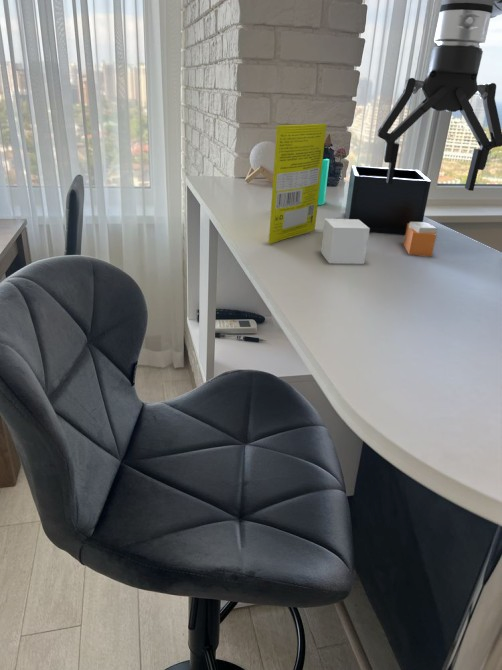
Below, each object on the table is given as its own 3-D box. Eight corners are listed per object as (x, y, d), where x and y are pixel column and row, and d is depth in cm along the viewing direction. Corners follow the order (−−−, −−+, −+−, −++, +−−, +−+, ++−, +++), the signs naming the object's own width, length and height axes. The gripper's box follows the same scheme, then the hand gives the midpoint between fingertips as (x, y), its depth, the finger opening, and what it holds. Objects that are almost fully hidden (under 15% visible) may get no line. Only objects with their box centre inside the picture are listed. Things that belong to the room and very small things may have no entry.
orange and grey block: (425, 245, 96) (430, 220, 94) (432, 256, 90) (438, 229, 87) (402, 243, 96) (407, 218, 94) (408, 254, 90) (413, 227, 88)
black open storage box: (409, 219, 115) (418, 170, 110) (420, 236, 102) (431, 181, 97) (344, 214, 117) (351, 165, 112) (347, 230, 104) (354, 175, 99)
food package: (312, 229, 103) (323, 123, 94) (317, 230, 102) (329, 124, 93) (266, 243, 92) (274, 125, 83) (271, 245, 91) (279, 125, 82)
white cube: (320, 252, 89) (324, 218, 86) (353, 253, 89) (358, 219, 87) (329, 263, 83) (333, 227, 81) (364, 263, 84) (369, 228, 81)
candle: (328, 204, 125) (334, 153, 120) (307, 205, 123) (312, 153, 118) (317, 199, 130) (322, 150, 125) (296, 200, 128) (301, 150, 123)
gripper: (379, 39, 76) (357, 183, 86) (551, 48, 74) (510, 196, 83) (374, 43, 83) (355, 176, 92) (532, 52, 81) (496, 188, 90)
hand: (428, 186), depth 88 cm, fingers open, 13 cm apart
